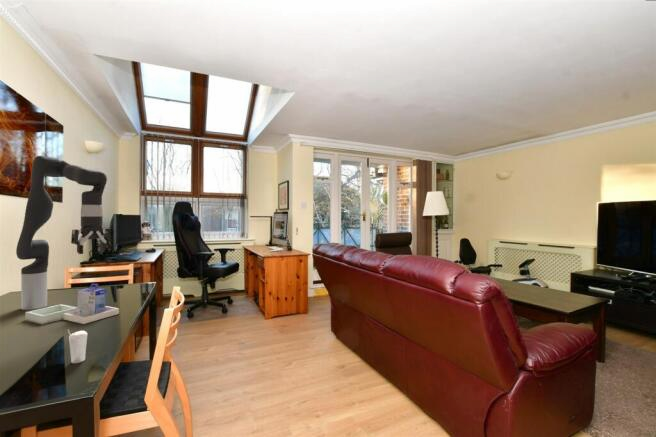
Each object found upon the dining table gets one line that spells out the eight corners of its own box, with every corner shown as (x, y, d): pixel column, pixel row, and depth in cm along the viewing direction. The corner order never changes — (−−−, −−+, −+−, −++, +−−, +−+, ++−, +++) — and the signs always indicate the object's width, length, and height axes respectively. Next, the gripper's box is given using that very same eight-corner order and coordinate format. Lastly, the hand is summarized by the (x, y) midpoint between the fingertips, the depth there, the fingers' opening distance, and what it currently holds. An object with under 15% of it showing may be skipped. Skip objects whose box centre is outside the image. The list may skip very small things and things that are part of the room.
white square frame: (63, 319, 133) (63, 313, 133) (99, 309, 147) (99, 304, 147) (83, 324, 128) (83, 318, 128) (118, 313, 141) (118, 308, 141)
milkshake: (73, 358, 97) (73, 326, 97) (90, 357, 98) (91, 326, 98) (62, 364, 93) (62, 332, 93) (80, 364, 93) (80, 331, 93)
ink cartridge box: (106, 315, 139) (106, 283, 139) (95, 319, 134) (95, 286, 134) (88, 313, 141) (88, 282, 141) (76, 317, 136) (76, 285, 136)
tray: (25, 320, 132) (25, 312, 132) (61, 311, 144) (61, 304, 144) (42, 324, 127) (42, 316, 127) (77, 315, 139) (77, 307, 139)
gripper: (103, 215, 141) (103, 250, 141) (67, 215, 127) (67, 254, 128) (114, 215, 138) (114, 251, 138) (78, 215, 125) (78, 255, 125)
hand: (91, 252), depth 133 cm, fingers open, 8 cm apart
